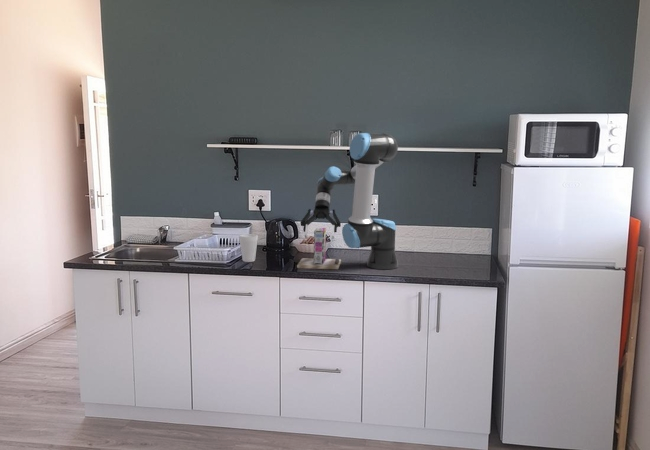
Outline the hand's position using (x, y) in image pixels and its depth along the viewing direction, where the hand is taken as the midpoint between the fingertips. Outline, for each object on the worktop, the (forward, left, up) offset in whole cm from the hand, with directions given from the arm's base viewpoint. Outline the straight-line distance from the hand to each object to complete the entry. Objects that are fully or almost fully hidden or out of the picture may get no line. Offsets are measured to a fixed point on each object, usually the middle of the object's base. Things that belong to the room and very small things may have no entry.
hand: (319, 236), depth 270 cm
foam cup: (+37, -3, -14) cm, 39 cm away
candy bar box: (-1, +2, -12) cm, 13 cm away
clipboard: (0, +2, -14) cm, 14 cm away
